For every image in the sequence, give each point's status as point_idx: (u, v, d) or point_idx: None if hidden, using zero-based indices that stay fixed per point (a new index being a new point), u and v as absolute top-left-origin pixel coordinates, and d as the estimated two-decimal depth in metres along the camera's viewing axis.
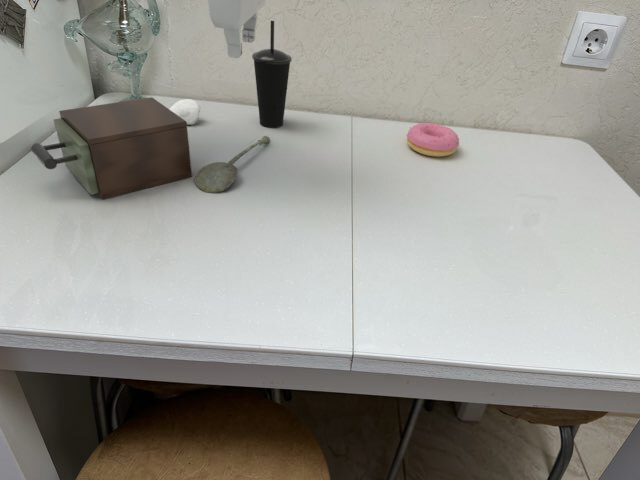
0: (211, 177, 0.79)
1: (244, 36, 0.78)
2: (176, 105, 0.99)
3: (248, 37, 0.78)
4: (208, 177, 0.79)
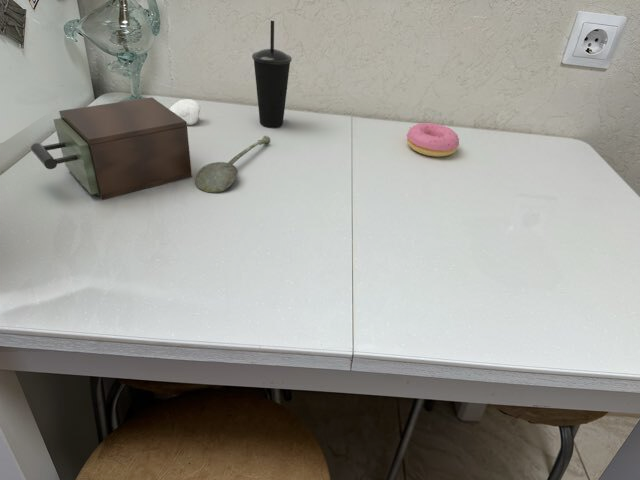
0: (211, 177, 0.79)
1: None
2: (176, 105, 0.99)
3: None
4: (208, 177, 0.79)
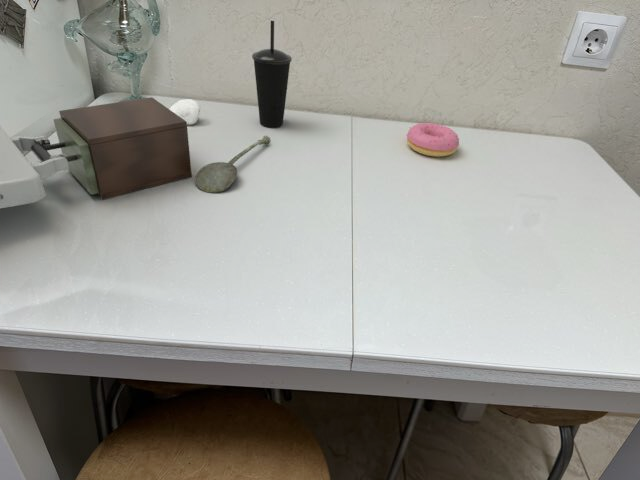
0: (211, 177, 0.79)
1: None
2: (176, 105, 0.99)
3: None
4: (208, 177, 0.79)
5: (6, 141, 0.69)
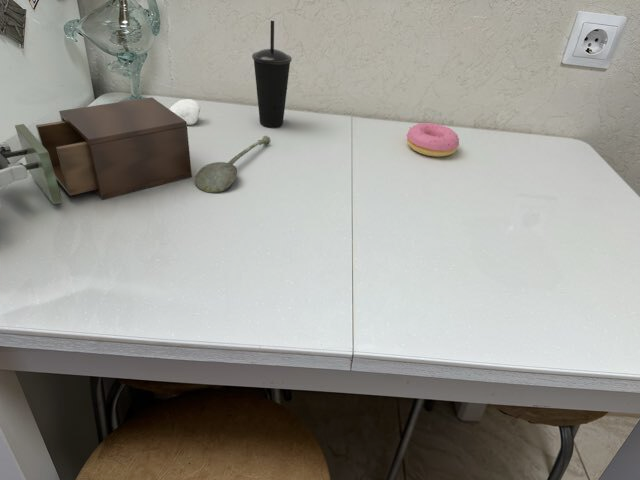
0: (211, 177, 0.79)
1: None
2: (176, 105, 0.99)
3: None
4: (208, 177, 0.79)
5: None
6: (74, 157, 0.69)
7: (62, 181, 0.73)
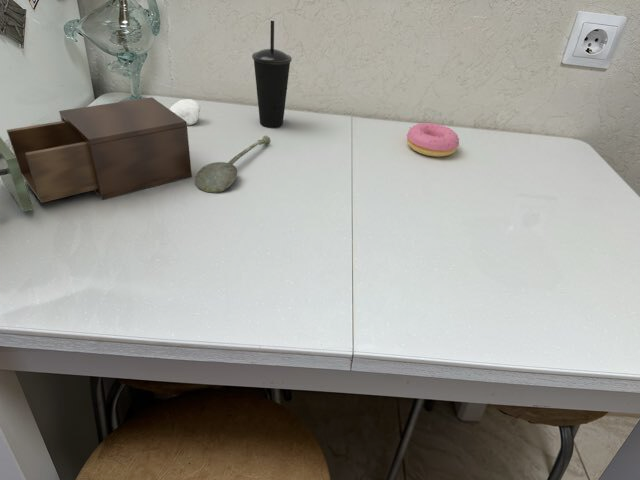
0: (211, 177, 0.79)
1: None
2: (176, 105, 0.99)
3: None
4: (208, 177, 0.79)
5: None
6: (44, 163, 0.67)
7: (33, 188, 0.71)
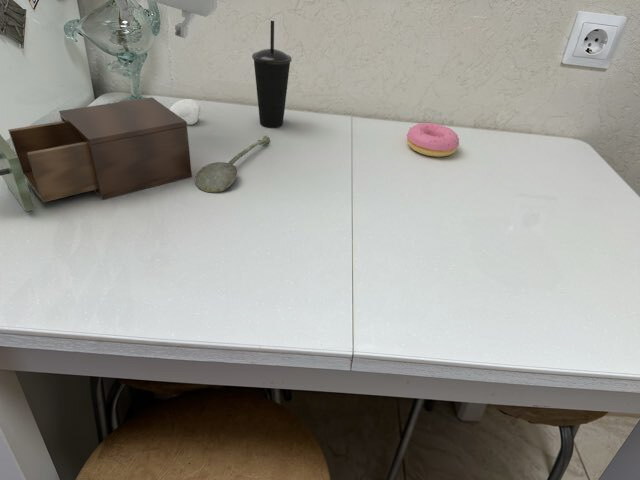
0: (211, 177, 0.79)
1: None
2: (176, 105, 0.99)
3: None
4: (208, 177, 0.79)
5: None
6: (46, 163, 0.67)
7: (35, 188, 0.71)
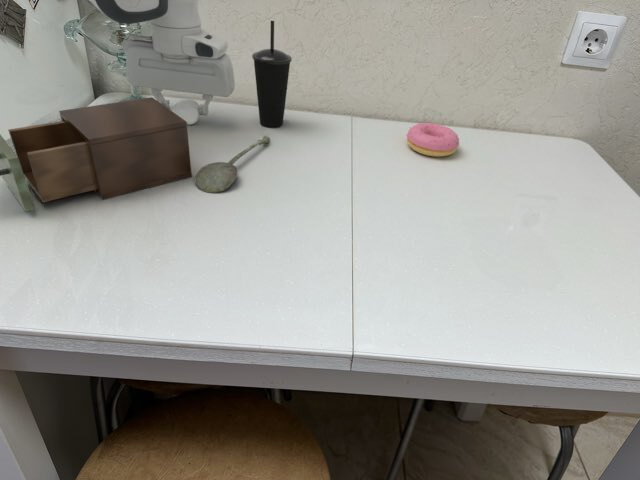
0: (211, 177, 0.79)
1: None
2: (176, 105, 0.99)
3: (168, 106, 0.99)
4: (208, 177, 0.79)
5: (190, 89, 0.95)
6: (46, 163, 0.67)
7: (35, 188, 0.71)
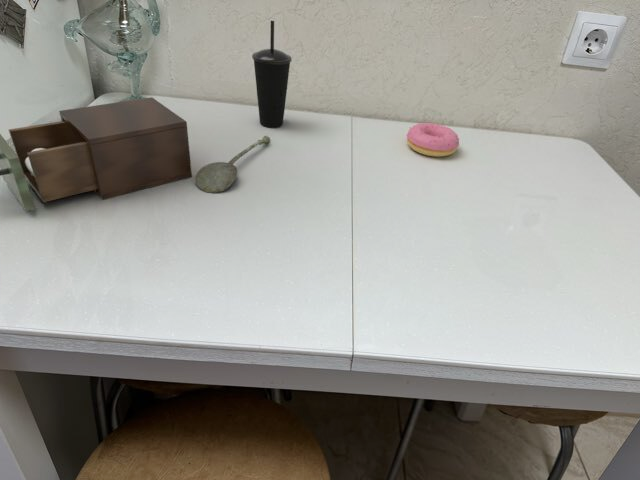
0: (211, 177, 0.79)
1: None
2: None
3: None
4: (208, 177, 0.79)
5: None
6: (46, 163, 0.67)
7: (35, 187, 0.71)
